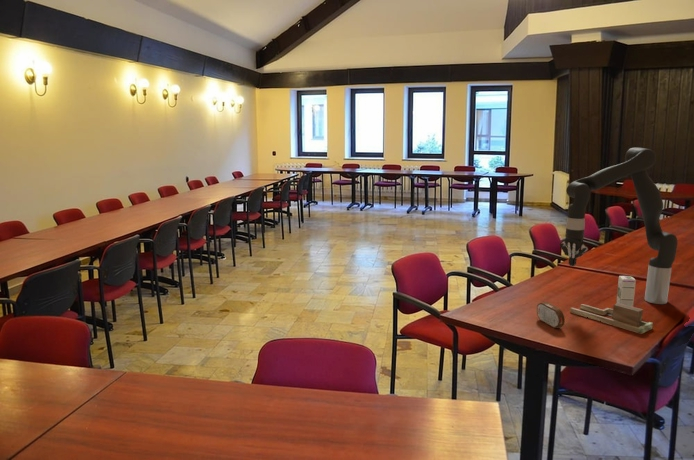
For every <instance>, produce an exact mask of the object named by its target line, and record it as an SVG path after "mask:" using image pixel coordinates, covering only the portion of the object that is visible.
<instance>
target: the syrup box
mask: <svg viewBox="0 0 694 460" xmlns="http://www.w3.org/2000/svg"><path fill="white" fill-rule="evenodd" d="M636 282H637V280H636V279H635V278H634V277H633V276H629V275H619V276H618V283H617V292H616V293H617V294H616V303H615V304H617V303H621V304H624V305H628V306H632V307H634V301H635V293H636Z"/></svg>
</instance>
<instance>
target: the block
mask: <svg viewBox="0 0 694 460" xmlns="http://www.w3.org/2000/svg"><path fill="white" fill-rule="evenodd" d="M612 309H613V315H612V317H611V319H613V320H616V321H619V322H623V323H626V324H629V325H633V326H636V327H640V326H641V323H642V321H643V314H644V313H643V312H644V309H643V308H639V307H635V306H633V307H632V306H628V305H624V304H621V303H617V304H616V303H615V304H613V307H612Z"/></svg>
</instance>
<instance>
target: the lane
mask: <svg viewBox="0 0 694 460" xmlns="http://www.w3.org/2000/svg"><path fill="white" fill-rule="evenodd" d="M579 308H580V309H579ZM579 308H576V307H570V311H569V312H570V313H572V314H575V315H578V316H582V317H584V318H587V317H588V318H587V319H591V320H594V321H597V322H600V321H601V323H604V324H608V325H610V326H613V327H616V328H621V329H624V330H627V331H630V332H632V333H633V332H634V333H636V334H640V335H642V334H644V333H646V332H649V331H650V330H652V329H653V324H654V323H653V322H650V321H649V322H646V321H643V320H642V323H641V326H640V327H636V326H633V325H629V324H626V323H623V322H619V321H616V320H613V319H612V315H613V308H611V307H605V308H603V309H601V308H598V307H595V306H591V305H588V304H583V303H581V304H580V307H579ZM606 316H607V317H606ZM609 317H611V318H609Z"/></svg>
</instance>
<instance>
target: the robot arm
mask: <svg viewBox="0 0 694 460" xmlns="http://www.w3.org/2000/svg"><path fill="white" fill-rule="evenodd" d="M656 161H657V154H656V152H655V151H654V150H652V149H650V148H646V147H645V148H644V147H631V148H629V149H628V150H627V151H626V152H625V156H624V162H622V163H618V164H616V165H615V164H614V165H611V166H608V167H605V168H603V169H601V170H598V171H596V172H595V173H593V174H591V175H589V176H586V177H581V178H580V179H576V180H574V181H572V182H571V183H569V184H567V187H566V189H565V190H566V191H565V192H566V195H567V196H568V197H570V198H573V202H572V203H571V204H569V205H568V207H567V219H566V224H565V239H564V241H563V242H562V243H561V242H560V243H559V247H560V248H561V250H562V252H563V254H564V255H565V256H566V257H568V265H569V267H575V266H576V265H577V259H578V258H581V257H582V256H583V255H584V254H585V253H586V252H587V251H589V247H588V246H586V245H585V244H584V237H585V228H586V227H585V226H586V220H585V219H586V208H587V205H588V203H589V201H590V197H591V191H597V190H600V189H603V188H604V187H606V186H608V185H610V184H612V183H614V182H616V181H618V180H620V179H623V178H625V177H628V176H630V177H631V180H632V183H633V187H634V190H635V193H636V197H637V201H638V204H639V205H638V206H639V208H640V212H641V215H642V216H641V217H642V220H643V224H644V229H645V236H646V241H647V244H648V247H649V248H650V249H652V250H654V251H657V252H658V253H657V256H656V257H651V258H649V260H648V266H647V267H648V269H647V275H646V284H645V293H644V301H645V302H647V303H651V304H655V305H666V304H667V303H668V297H669V296H668V295H669V290H670V283H671V276H672V268H673V264H674V261H676V254H677V248H678V244H679V243H678V239H677V238H678V237H677V236H676V235H675V234H673V233H671V232H666V231H663V228H662V227H661V223H660V218H661V215H662V213H663V209H664V201H663V198H662V195H661V191H660V189H659V188H658V186H657V185H656V184H655V183H654V181H653V180H652V178H651V177H650V176H649V174H648V171H647V170H648V169H650V168H653V166H654V165H655V164H656Z"/></svg>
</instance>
